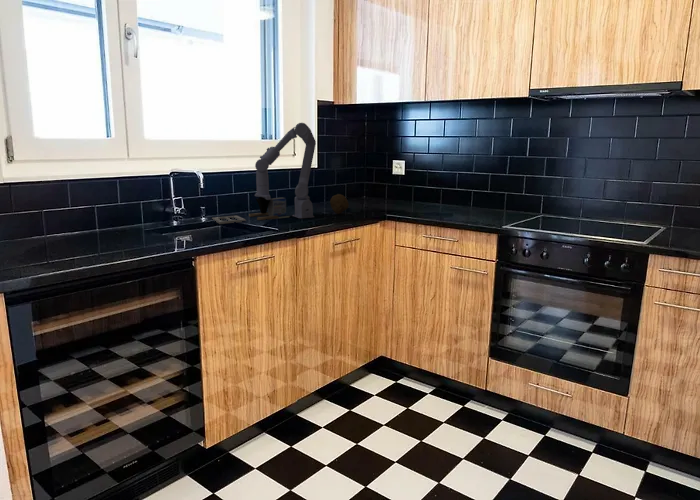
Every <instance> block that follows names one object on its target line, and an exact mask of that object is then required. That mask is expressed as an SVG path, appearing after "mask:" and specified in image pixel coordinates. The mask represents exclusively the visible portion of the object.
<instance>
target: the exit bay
mask: <svg viewBox="0 0 700 500" xmlns="http://www.w3.org/2000/svg"><path fill="white" fill-rule="evenodd" d="M290 217H291V216H290V215H286V216H279V217H278V218H277V219H285V218H290Z"/></svg>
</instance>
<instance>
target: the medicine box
mask: <svg viewBox="0 0 700 500" xmlns="http://www.w3.org/2000/svg"><path fill="white" fill-rule="evenodd" d="M267 212H268V215H267V216H278V217H284V216H287V199H286V197H282V196H281V197H273V198H272V197H271V200H270V202H269V204H268V207H267Z"/></svg>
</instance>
